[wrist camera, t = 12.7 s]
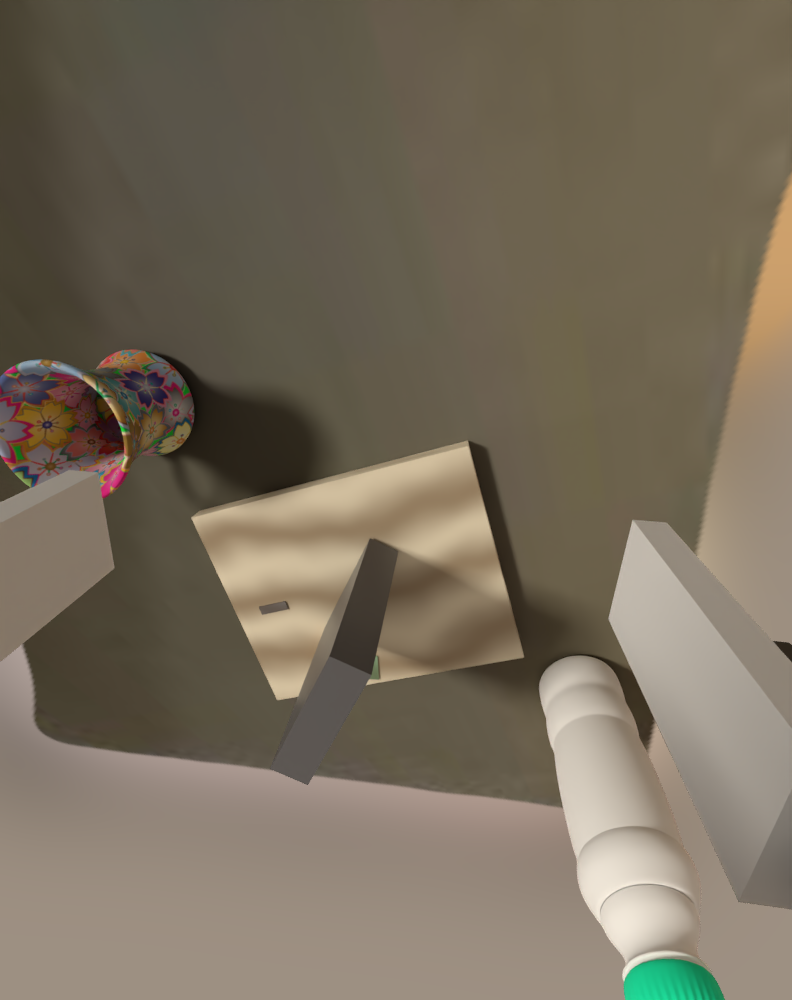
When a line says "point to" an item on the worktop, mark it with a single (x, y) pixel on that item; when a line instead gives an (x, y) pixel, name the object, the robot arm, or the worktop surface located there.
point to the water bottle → (624, 834)
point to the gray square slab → (338, 665)
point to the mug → (91, 416)
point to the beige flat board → (336, 551)
